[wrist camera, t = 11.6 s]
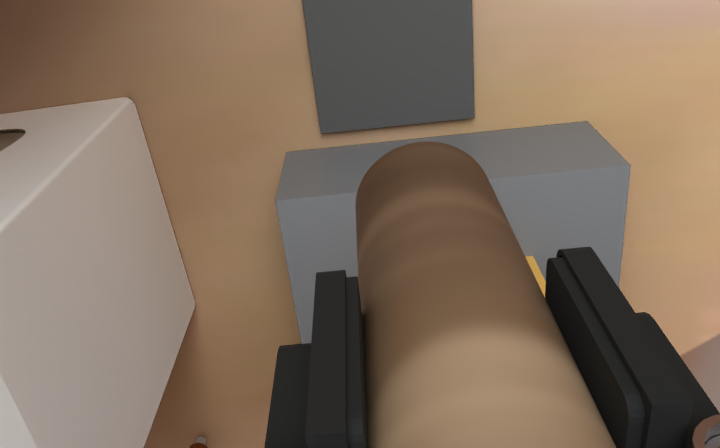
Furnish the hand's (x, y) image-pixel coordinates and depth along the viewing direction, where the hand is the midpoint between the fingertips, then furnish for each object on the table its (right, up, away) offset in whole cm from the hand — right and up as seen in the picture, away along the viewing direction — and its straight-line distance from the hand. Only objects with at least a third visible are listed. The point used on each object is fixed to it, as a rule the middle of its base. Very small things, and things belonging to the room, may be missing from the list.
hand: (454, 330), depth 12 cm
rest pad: (0, +11, +20) cm, 23 cm away
